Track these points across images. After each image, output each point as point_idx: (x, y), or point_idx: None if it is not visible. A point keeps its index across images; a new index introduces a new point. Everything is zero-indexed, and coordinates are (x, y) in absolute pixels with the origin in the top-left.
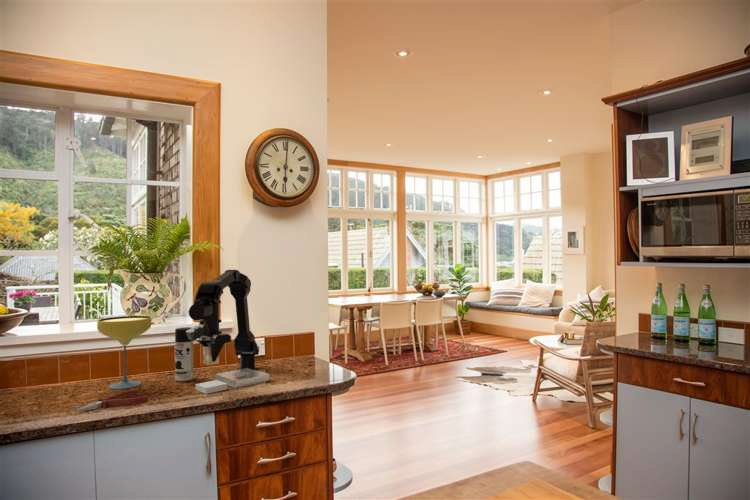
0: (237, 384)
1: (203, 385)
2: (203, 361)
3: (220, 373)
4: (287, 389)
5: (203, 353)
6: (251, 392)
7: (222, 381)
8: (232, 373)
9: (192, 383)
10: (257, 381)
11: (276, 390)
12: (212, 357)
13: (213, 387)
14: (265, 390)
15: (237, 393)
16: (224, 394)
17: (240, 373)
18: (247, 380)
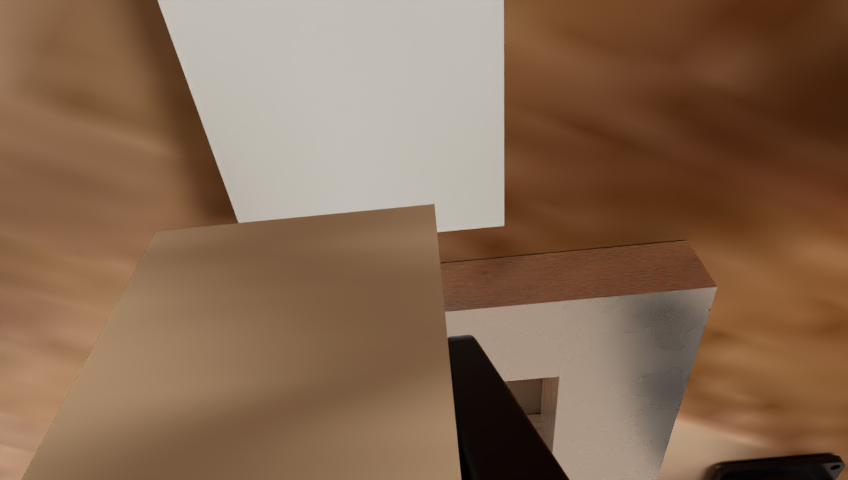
0: None
1: (337, 6)
2: (414, 242)
3: (687, 331)
4: (10, 474)
5: (425, 438)
6: (21, 313)
7: (526, 268)
8: (580, 393)
9: (838, 20)
10: None
11: (10, 432)
12: None
13: (192, 85)
14: (44, 392)
15: (34, 225)
16: (47, 121)
17: (552, 430)
18: None
